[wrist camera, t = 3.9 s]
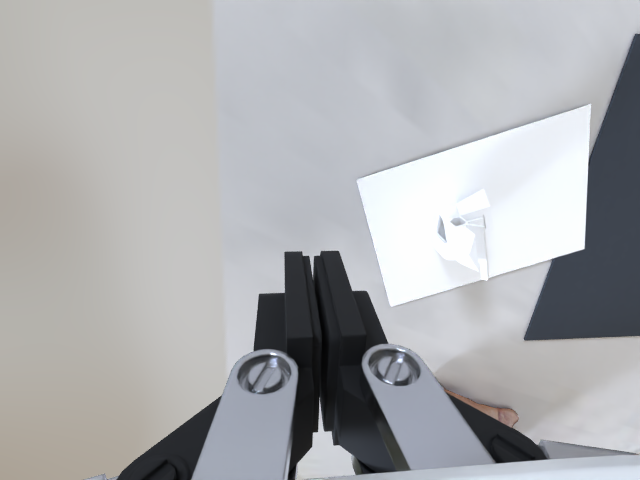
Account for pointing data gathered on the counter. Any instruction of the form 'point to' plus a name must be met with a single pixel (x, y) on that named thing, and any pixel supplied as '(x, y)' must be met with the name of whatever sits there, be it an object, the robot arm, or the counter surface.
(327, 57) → the counter surface
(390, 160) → the counter surface
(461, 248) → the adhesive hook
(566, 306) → the centre mat
